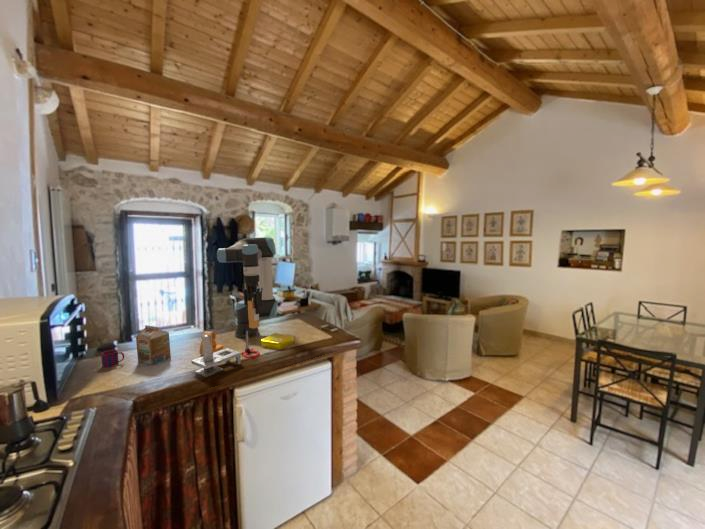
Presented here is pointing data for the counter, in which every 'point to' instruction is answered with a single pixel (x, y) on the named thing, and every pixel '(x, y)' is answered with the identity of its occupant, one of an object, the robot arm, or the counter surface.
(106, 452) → the counter surface
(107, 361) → the mug
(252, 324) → the wedge pin
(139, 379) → the counter surface
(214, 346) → the bracket
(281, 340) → the element tile
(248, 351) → the tow hook
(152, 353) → the milk carton
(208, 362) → the windowed plate knob
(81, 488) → the counter surface
